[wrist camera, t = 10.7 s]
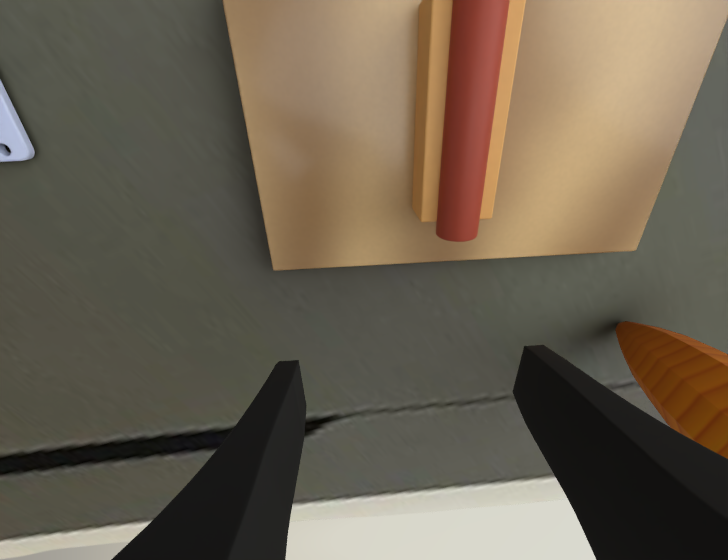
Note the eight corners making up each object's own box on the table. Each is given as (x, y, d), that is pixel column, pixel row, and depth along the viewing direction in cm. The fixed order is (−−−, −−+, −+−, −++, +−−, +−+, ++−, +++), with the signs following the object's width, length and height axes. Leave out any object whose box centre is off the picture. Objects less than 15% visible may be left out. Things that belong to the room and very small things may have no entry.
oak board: (276, 261, 19) (272, 271, 18) (227, -15, 13) (217, -25, 12) (620, 243, 19) (636, 251, 18) (719, -30, 14) (751, -41, 12)
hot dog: (411, 220, 17) (424, 244, 14) (419, -18, 12) (441, -53, 9) (473, 216, 17) (499, 240, 14) (504, -21, 12) (551, -56, 10)
